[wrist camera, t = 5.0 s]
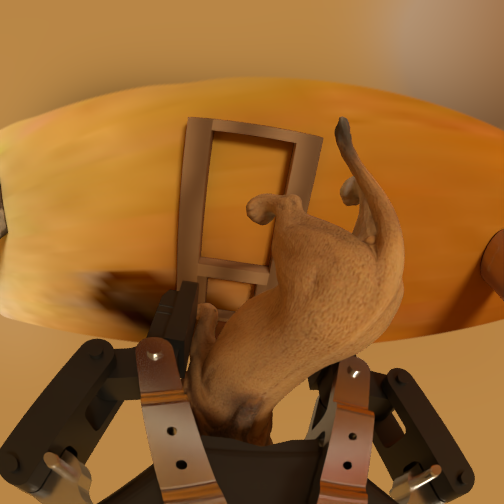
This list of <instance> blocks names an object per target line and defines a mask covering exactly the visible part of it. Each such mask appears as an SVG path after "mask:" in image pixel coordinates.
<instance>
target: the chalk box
mask: <svg viewBox="0 0 504 504" xmlns="http://www.w3.org/2000/svg"><path fill="white" fill-rule="evenodd" d="M7 233H8V232H7V227H6V221H5V216H4V210H3V203H2V195H1V186H0V239H1V238H2V237H3V236H4V235H6V234H7Z"/></svg>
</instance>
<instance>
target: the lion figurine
mask: <svg viewBox="0 0 504 504" xmlns="http://www.w3.org/2000/svg"><path fill="white" fill-rule="evenodd" d="M335 137H336V142H337V145H338V147H339V150H340V152H341V156H342V157H343V159H344V161H345V162H346V164H347V165H348V167H349V169H350V171H351V172H352V174H353V175H354V176H353V177H351V178H349V179H348V180H346V181H345V182H344V184H343V186H342V187H341V189H340V195H341V197H342V200H343V203H344V204H345V205H347V206H351V205H358V204H360V209H359V216H358V219H357V222H356V224H355V227H354V230H353V233H352V234H351V233H350V232H348V231H346V230H344V229H343V228H341V227H339V226H336V225H334V224H332V223H329V222H327V221H324V220H321V219H319V218H316V217H313V216H310V215H308V214H306V213H305V212H304V210H303V207H302V200H301V198H300V197H299V196H297V195H294V194H290V195H274V194H261V195H258V196H256V197H254V198H252V199H251V200H250V201H249V202H248V203H247V205H246V211H247V216H248V217H249V218H250V219H251V220H252V221H253V222H255V223H258V224H260V225H266V224H268V223H269V222H271V221H272V220H273V218H274V217H275V216H276V221H275V227H274V233H273V240H272V246H271V251H272V256H273V259H274V262H275V267H276V277H277V281H278V285H277V286H276V287H275V288H273V289H270V290H267V291H265V292H263V293H261V294H259V295H257V296H255V297H253V298H251V299H249V300H248V301H246V302H245V303H244V304H243V305H242V306H241V307H240V308H239V309H238V310H237V311H236V312H235V313H234V314H233V315H232V316H231V318H230V319H229V320H228V322H227V323H226V324H225V326H224V328H223V329H222V331H221V333H220V334H219V336H218V338H217V339H215V329H216V325H217V323H218V321H219V317H218V311H217V309H216V308H215V307H214V306H213V305H212V304H210V303H201V304H198V307H197V317H196V319H197V320H199V322H198V324H197V326H196V329H195V332H194V336H193V338H192V342H191V346H190V352H189V355H190V364H189V367H188V371H186V373H185V379H183V378H181V383H182V387H183V390H184V393H186V394H187V397H188V400H189V403H190V407H191V410H192V413H193V416H194V420H195V423H196V426H197V429H198V432H199V435H200V438H201V435H205V436H213V437H223V438H232V439H235V440H239V441H242V442H246V443H249V444H253V445H257V446H268V445H273V443H272V440H271V438H270V433H271V430H272V416H273V413H272V411H273V408H274V407H275V406H276V404H277V403H278V402H279V401H281V399H283V398H284V396H286V395H287V394H288V393H289V392H291V391H292V390H293V389H294V388H295V387H296V386H298V385H299V384H300V383H301V382H303V381H304V380H305V379H306V378H308V377H309V376H311V375H312V374H314V373H315V372H317V371H319V370H320V369H322V368H324V367H326V366H329V365H331V364H334V363H336V362H339V361H341V360H344V359H346V358H348V357H351V356H353V355H355V354H358V353H359V352H361V351H362V350H363V349H365V348H367V347H368V346H369V345H370V344H372V343H373V342H374V341H375V340H376V339H378V338H379V337H380V336H381V335H382V334H383V332H384V331H385V330H386V329H387V327H388V326H389V324H390V323H391V321H392V319H393V317H394V316H395V314H396V312H397V310H398V308H399V306H400V303H401V300H402V298H403V293H404V286H403V281H402V274H403V269H404V256H405V255H404V242H403V236H402V231H401V227H400V224H399V220H398V217H397V215H396V213H395V210H394V208H393V206H392V204H391V202H390V201H389V199H388V197H387V196H386V194H385V193H384V191H383V190H382V188H381V187H380V186H379V184H378V183H377V182H376V180H375V179H374V178H373V176H372V175H371V174H370V173H369V171H368V170H367V169H366V168H365V166H364V165H363V164H362V162H361V161H360V159H359V157H358V155H357V153H356V151H355V149H354V147H353V144H352V138H351V134H350V126H349V122H348V120H347V118H344V117H340V118H339V122H338V124H337V126H336V128H335Z"/></svg>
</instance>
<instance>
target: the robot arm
mask: <svg viewBox="0 0 504 504" xmlns="http://www.w3.org/2000/svg"><path fill="white" fill-rule="evenodd" d="M481 275H482V278H483V279H484V280H485V281H486V282H487V283H488V284H489V285H490V287H491V288H492V289H493V290H494V291H495V292H496V293H497V294H498V295H499V296H500V298H501V299H502V300H503V301H504V229H503V230H501V231H500V232H498V233H497V234H496V235H495V236H494V237H493V239H492V240H491V241H490V243H489V244H488V246H487V248H486V250H485V252H484V255H483V258H482V262H481ZM198 293H199V283H197V282H191V281H184V280H183V281H182V284H181V287H180V290H179V291H175V290H169V291H168V292H166V293H165V294H164V295H163V296H162V298H161V301H160V303H159V306H158V308H157V312H156V314H155V316H154V319H153V321H152V324H151V327H150V330H149V332H148V335H147V337H146V338H145V339H143V340H142V341H140V342H139V343H138V345H137V346H136V347H133V348H127V349H113V347H112V345H111V344H110V343H109V342H107V341H106V340H103V339H92V340H89V341H87V342H85V343H84V344H83V345H82V346H81V347H80V348H79V349H78V350H77V352H76V353H75V354H74V355H73V356H72V357H71V358H70V360H69V361H68V362H67V363H66V364H65V366H64V367H63V368H62V369H61V370H60V371H59V372H58V374H57V375H56V376H55V377H54V379H53V380H52V381H51V382H50V383H49V385H48V386H47V387H46V388H45V389H44V391H43V392H42V393H41V395H40V396H39V397H38V398H37V400H36V401H35V402H34V403H33V405H32V406H31V407H30V409H29V410H28V411H27V413H26V414H25V415H24V416H23V418H22V419H21V420H20V422H19V423H18V425H17V426H16V427H15V428H14V430H13V431H12V433H11V434H10V435H9V437H8V438H7V440H6V441H5V443H4V444H3V445H2V447H1V448H0V474H1V476H2V477H3V478H4V479H5V480H6V481H7V482H8V483H10V484H12V485H14V486H16V487H18V488H19V489H20V490H22V491H24V492H25V493H27V494H29V495H32V496H33V497H35V498H36V499H37V500H38V501H39V502H41V503H42V504H93V503H92V501H91V499H90V496H89V489H90V485H91V481H92V480H91V474H90V472H89V470H88V468H87V467H86V466H85V463H86V462H87V460H88V458H89V457H90V455H91V453H92V452H93V450H94V448H95V447H96V445H97V443H98V442H99V440H100V439H101V437H102V435H103V434H104V432H105V430H106V429H107V427H108V426H109V424H110V422H111V421H112V419H113V418H114V416H115V414H116V413H117V411H118V409H119V408H120V406H121V405H122V403H123V402H124V400H138V399H141V406H142V412H143V417H144V423H145V428H146V433H147V438H148V442H149V447H150V451H151V456H152V460H153V464H152V465H151V466H150V467H148V468H147V469H146V470H144V471H143V472H142V473H140V474H139V475H138V476H136V477H135V478H134V479H132V480H131V481H130V482H128V483H127V484H125V485H124V486H123V487H121V488H120V489H118V490H117V491H116V492H114V493H113V494H111V495H110V496H108V497H107V498H105V499H104V500H102V501H101V502H99V503H97V504H446V503H448V502H450V501H452V500H454V499H456V498H458V497H460V496H462V495H464V494H466V493H468V492H469V491H470V490H471V489H472V487H473V485H474V480H475V476H474V473H473V470H472V468H471V467H470V465H469V463H468V462H467V460H466V458H465V457H464V455H463V453H462V452H461V450H460V448H459V447H458V445H457V443H456V442H455V440H454V439H453V437H452V435H451V434H450V432H449V431H448V429H447V427H446V426H445V424H444V423H443V421H442V420H441V418H440V417H439V415H438V414H437V412H436V411H435V409H434V408H433V406H432V405H431V403H430V402H429V400H428V399H427V397H426V396H425V394H424V393H423V391H422V390H421V389H420V387H419V386H418V384H417V383H416V381H415V380H414V379H413V377H412V376H411V375H410V374H409V373H408V372H407V371H406V370H403V369H400V368H394V369H391V370H390V371H389V373H388V374H387V375H385V374H381V373H377V372H373V371H370V368H369V366H368V365H367V363H366V362H365V361H363V360H362V359H360V358H357V357H356V354H355V355H353V356H351V357H348V358H346V359H344V360H341V361H339V362H336V363H334V364H331V365H329V366H326V367H324V368H322V369H320V370H319V371H317V372H315V373H314V374H312V375H311V376H309V377H308V382H309V387H310V390H319V396H318V398H317V400H316V403H315V407H314V411H313V415H312V418H311V423H310V426H309V430H308V433H307V435H306V438H305V439H304V440H290V441H286V442H282V443H278V444H273V445H268V446H257V445H253V444H249V443H246V442H242V441H239V440H235V439H232V438H223V437H213V436H205V435H201V438H200V435H199V432H198V429H197V426H196V423H195V420H194V416H193V413H192V410H191V407H190V403H189V400H188V397H187V394H186V393H184V390H183V387H182V383H181V379H180V378H183V379H185V373H186V368H187V363H188V357H189V352H190V346H191V342H192V337H193V332H194V328H195V323H196V317H197V307H198ZM394 410H395V411H396V412H397V414H398V416H399V417H400V419H401V421H402V422H403V424H404V426H405V428H406V433H405V434H404V433H403V431H402V429H401V427H400V426H399V424H398V422H397V421H396V419H395V417H394V416H393V414H392V412H393V411H394ZM372 442H373V443H374V445H375V447H376V449H377V451H378V453H379V455H380V456H381V458H382V460H383V462H384V464H385V466H386V468H387V469H388V472H389V474H390V476H391V478H392V480H393V481H394V482H393V487H392V489H391V490H390V493H389V494H390V496H391V497H392V498H391V497H390V496H389V495H387V494H386V493H385V492H384V491H382V490H381V489H380V488H379V487H377V486H376V485H375V484H374V483H373V482H371V481H370V480H369V479H368V478H367V477H368V471H369V464H370V457H371V448H372ZM393 498H394V499H393Z"/></svg>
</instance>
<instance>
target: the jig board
mask: <svg viewBox="0 0 504 504" xmlns="http://www.w3.org/2000/svg"><path fill="white" fill-rule="evenodd" d="M214 131H223V132H231V133H239V134H246V135H253V136H259V137H265V138H271V139H277V140H282V141H288V142H293V143H294V147H293V152H292V157H291V162H290V167H289V172H288V177H287V182H286V187H285V192H284V195H290V194H294V195H297V196H299V197H300V198H301V200H302V207H303V210H304V212H305V213H307V209H308V205H309V201H310V197H311V192H312V188H313V183H314V179H315V175H316V170H317V165H318V161H319V156H320V152H321V147H322V142H323V138H322V137H319V136H315V135H310V134H306V133H301V132H296V131H291V130H286V129H281V128H275V127H269V126H263V125H257V124H250V123H243V122H236V121H228V120H219V119H209V118H198V117H188V122H187V130H186V139H185V148H184V158H183V169H182V180H181V194H180V209H179V227H178V253H177V291H179V290H180V287H181V284H182V281H183V280H184V281H191V282H197V283H199V293H198V304H201V303H206V294H207V282H208V277H210V278H217V279H224V280H231V281H238V282H245V283H252V284H256V287H255V292H254V297H255V296H257V295H259V294H261V293H263V292H265V291H267V290H270V289H273V288H275V287H276V286H277V285H278V281H277V277H276V267H275V262H274V259H273V256H272V255H271V259H270V264H269V266H262V265H255V264H248V263H241V262H234V261H227V260H220V259H214V258H207V257H201V245H202V233H203V222H204V211H205V201H206V192H207V182H208V174H209V165H210V157H211V149H212V141H213V134H214ZM217 311H218V317H219V321H224V322H228V320H229V319H230V318H231V316H232V315H233V314H234V313H235V312H234V311H227V310H220V309H217Z"/></svg>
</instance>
